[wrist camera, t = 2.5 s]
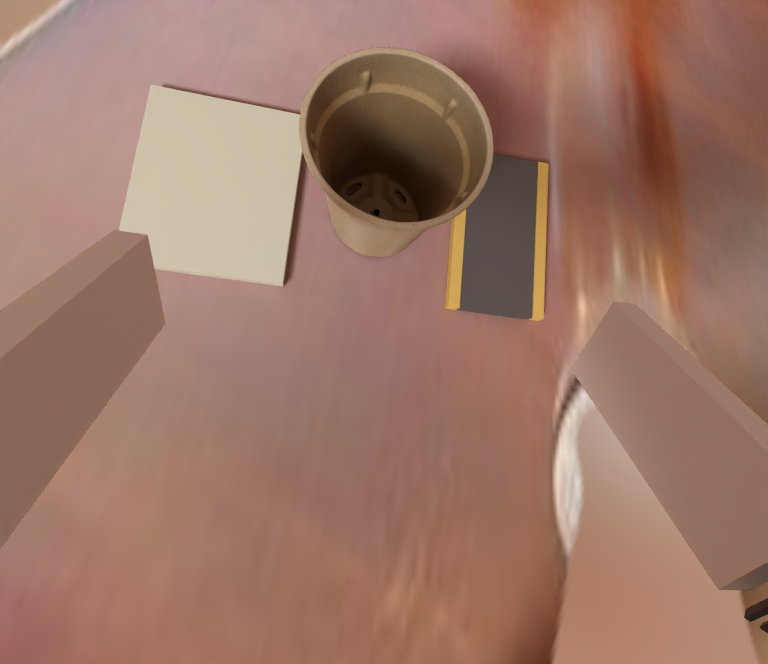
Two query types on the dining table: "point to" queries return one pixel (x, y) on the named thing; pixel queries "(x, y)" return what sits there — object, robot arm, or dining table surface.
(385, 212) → the flower pot
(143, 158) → the pad
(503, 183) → the trap mat
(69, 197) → the dining table surface
